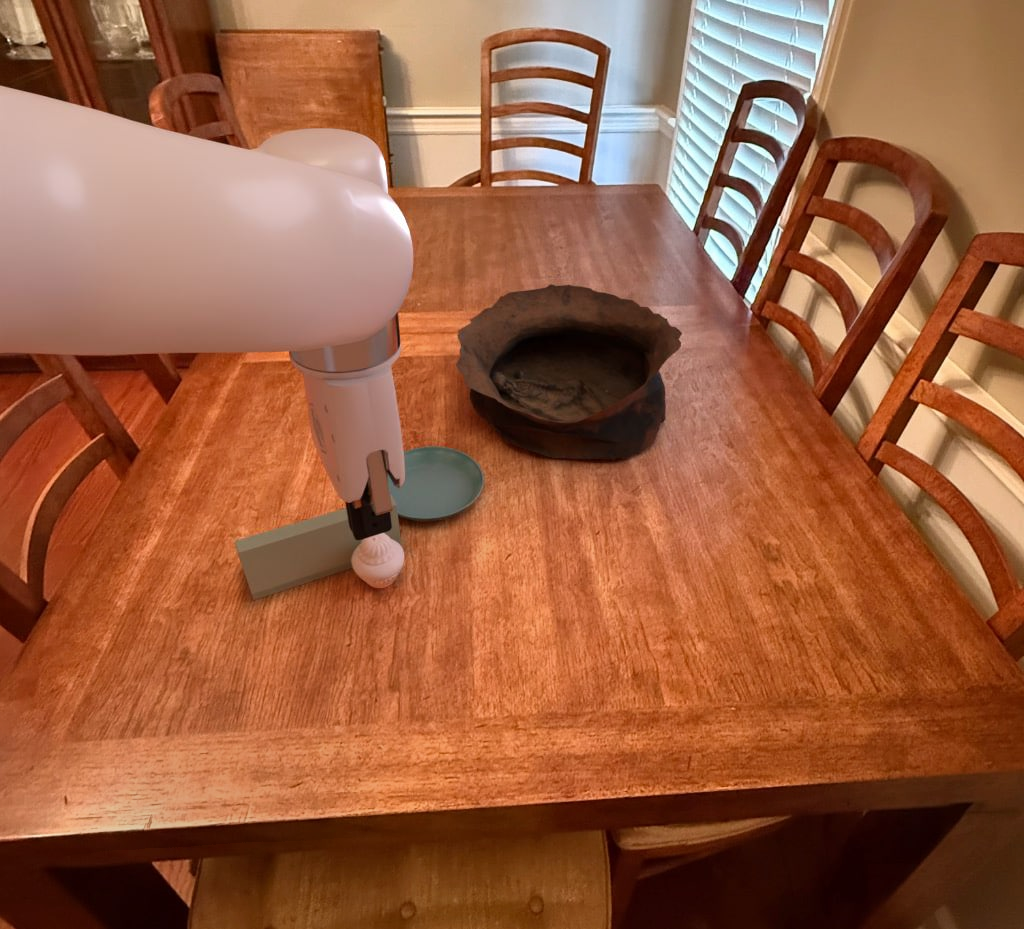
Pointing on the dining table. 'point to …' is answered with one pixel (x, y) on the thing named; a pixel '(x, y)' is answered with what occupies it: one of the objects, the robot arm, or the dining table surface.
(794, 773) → the dining table surface
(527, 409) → the bowl
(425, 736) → the dining table surface
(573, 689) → the dining table surface
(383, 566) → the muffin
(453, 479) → the saucer
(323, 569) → the wall
